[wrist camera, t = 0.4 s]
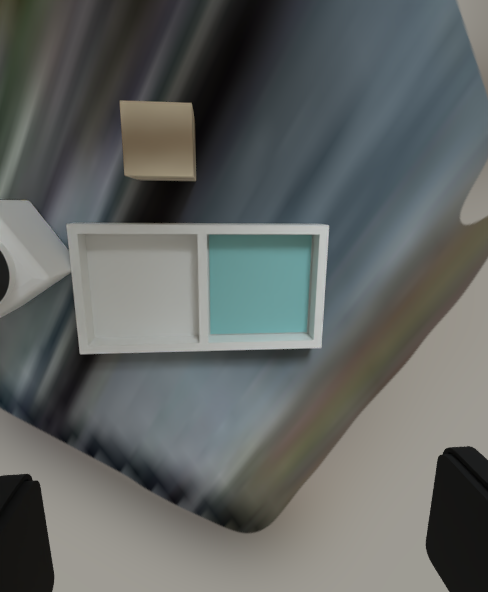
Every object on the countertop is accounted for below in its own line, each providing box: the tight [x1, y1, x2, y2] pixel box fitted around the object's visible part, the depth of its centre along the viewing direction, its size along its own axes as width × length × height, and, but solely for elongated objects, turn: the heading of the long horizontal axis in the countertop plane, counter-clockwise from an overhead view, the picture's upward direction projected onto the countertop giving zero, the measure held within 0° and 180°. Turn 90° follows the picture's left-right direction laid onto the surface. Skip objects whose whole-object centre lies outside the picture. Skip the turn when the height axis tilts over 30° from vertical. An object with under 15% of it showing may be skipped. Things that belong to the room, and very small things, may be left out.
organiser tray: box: [66, 223, 329, 354], centre depth 34 cm, size 12×22×2 cm, turn 89°
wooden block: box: [120, 100, 196, 181], centre depth 30 cm, size 5×5×6 cm
